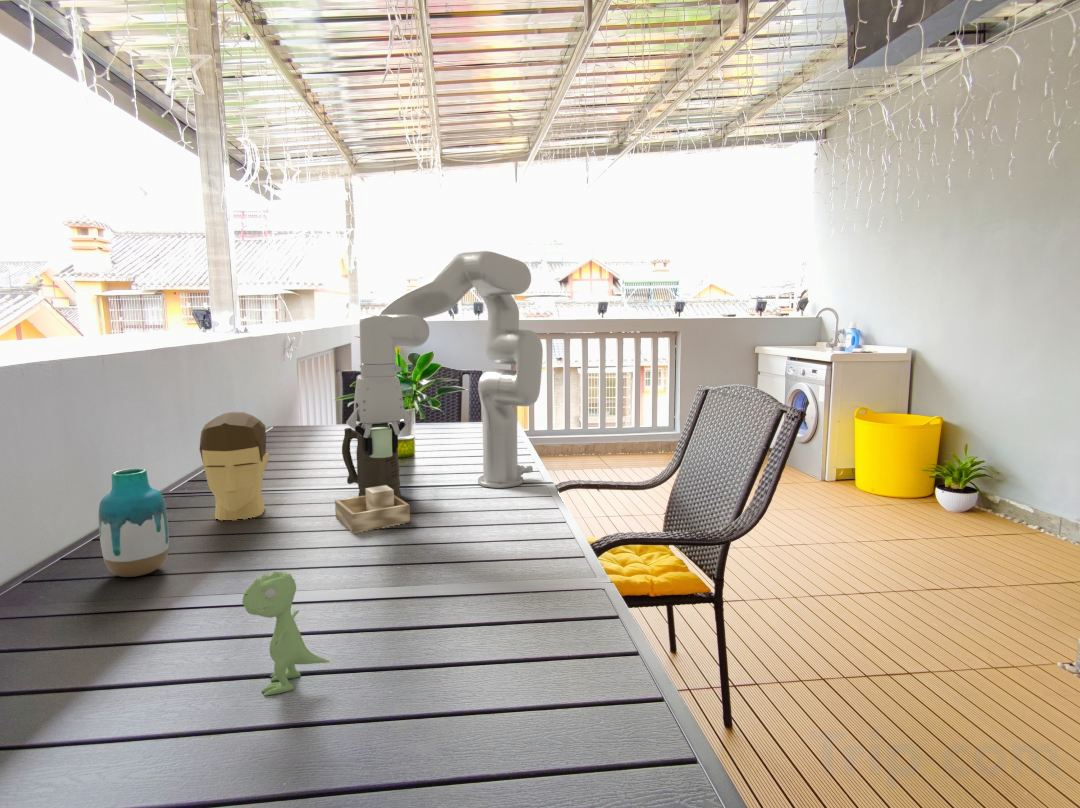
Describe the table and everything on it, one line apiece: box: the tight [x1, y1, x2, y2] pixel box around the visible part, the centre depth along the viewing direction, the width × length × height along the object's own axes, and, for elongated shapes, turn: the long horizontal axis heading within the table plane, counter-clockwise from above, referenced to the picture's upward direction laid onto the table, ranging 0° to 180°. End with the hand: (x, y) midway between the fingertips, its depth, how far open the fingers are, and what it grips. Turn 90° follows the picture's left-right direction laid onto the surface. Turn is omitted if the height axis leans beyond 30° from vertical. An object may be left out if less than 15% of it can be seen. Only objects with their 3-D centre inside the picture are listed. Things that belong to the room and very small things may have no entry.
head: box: [199, 411, 270, 521], centre depth 152 cm, size 14×21×25 cm, turn 17°
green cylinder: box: [370, 427, 392, 458], centre depth 146 cm, size 5×5×6 cm
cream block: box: [365, 485, 394, 511], centre depth 153 cm, size 5×5×6 cm
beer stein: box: [341, 422, 402, 498], centre depth 168 cm, size 15×11×20 cm
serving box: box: [334, 495, 411, 535], centre depth 150 cm, size 13×13×4 cm
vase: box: [98, 468, 170, 578], centre depth 119 cm, size 11×11×19 cm
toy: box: [242, 571, 331, 697], centre depth 84 cm, size 7×8×15 cm
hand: (380, 452), depth 147 cm, fingers closed on green cylinder, 4 cm apart
